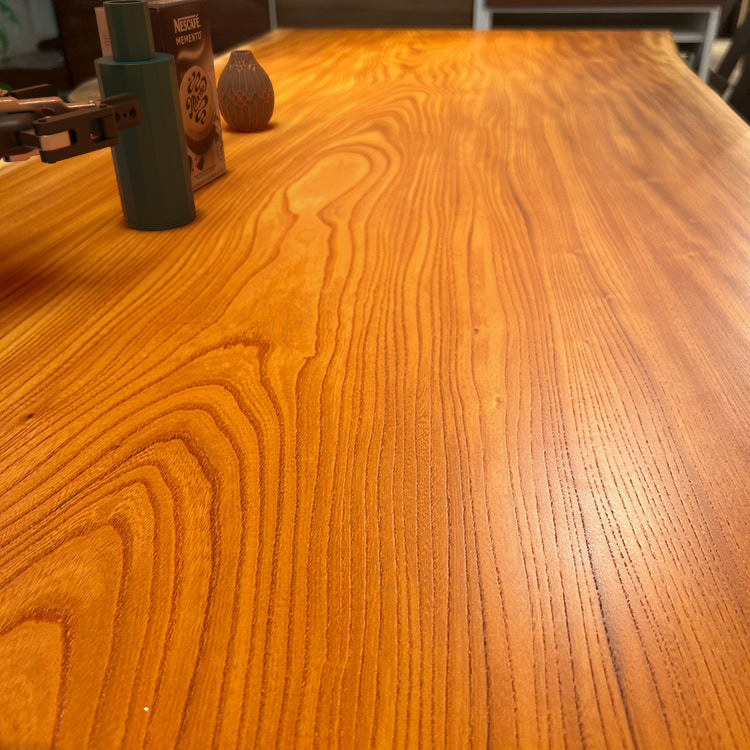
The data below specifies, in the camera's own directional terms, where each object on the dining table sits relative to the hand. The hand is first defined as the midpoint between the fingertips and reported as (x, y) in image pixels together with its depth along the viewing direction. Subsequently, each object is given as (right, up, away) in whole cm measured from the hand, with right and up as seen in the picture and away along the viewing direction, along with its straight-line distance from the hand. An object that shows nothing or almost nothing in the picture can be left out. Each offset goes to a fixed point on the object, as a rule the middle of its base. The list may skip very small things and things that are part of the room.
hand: (94, 102), depth 58 cm
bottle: (+3, -7, +9) cm, 12 cm away
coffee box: (+2, -2, +18) cm, 18 cm away
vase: (+5, +10, +37) cm, 39 cm away
